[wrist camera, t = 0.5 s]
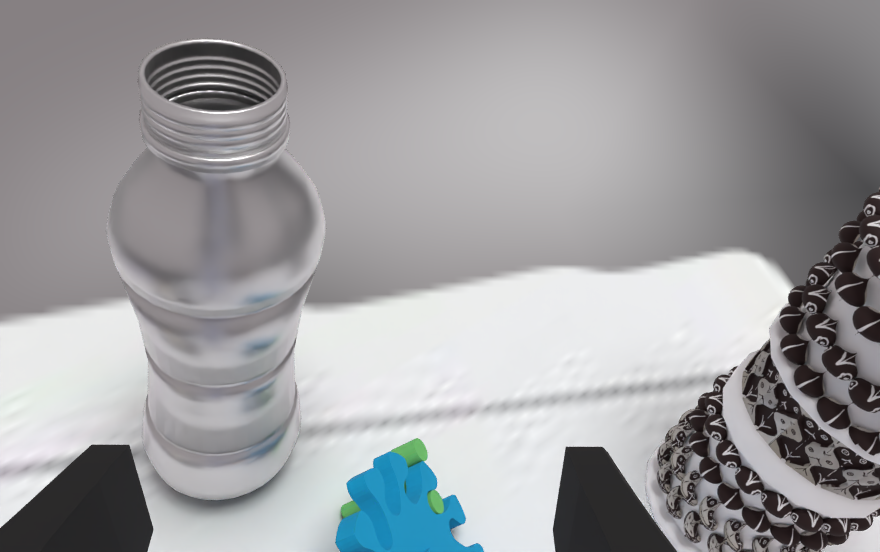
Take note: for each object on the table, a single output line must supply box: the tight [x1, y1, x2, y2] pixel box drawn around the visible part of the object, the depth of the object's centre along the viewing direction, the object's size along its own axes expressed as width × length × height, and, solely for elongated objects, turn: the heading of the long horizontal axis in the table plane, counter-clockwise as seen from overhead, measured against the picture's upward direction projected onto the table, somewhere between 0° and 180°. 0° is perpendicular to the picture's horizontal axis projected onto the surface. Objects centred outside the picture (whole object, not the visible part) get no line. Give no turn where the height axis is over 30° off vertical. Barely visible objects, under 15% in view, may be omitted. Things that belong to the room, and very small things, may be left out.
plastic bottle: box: [106, 38, 326, 500], centre depth 25 cm, size 6×7×20 cm
